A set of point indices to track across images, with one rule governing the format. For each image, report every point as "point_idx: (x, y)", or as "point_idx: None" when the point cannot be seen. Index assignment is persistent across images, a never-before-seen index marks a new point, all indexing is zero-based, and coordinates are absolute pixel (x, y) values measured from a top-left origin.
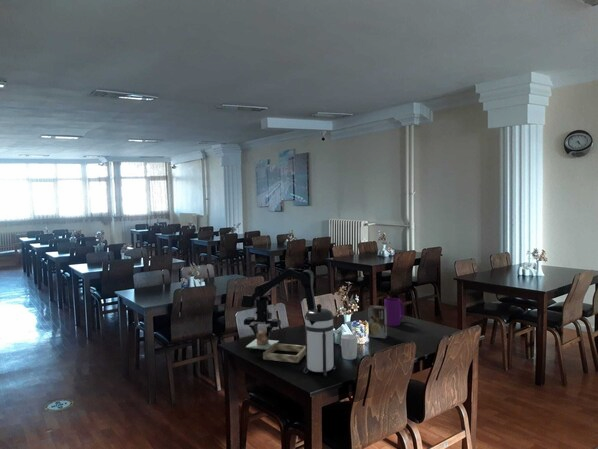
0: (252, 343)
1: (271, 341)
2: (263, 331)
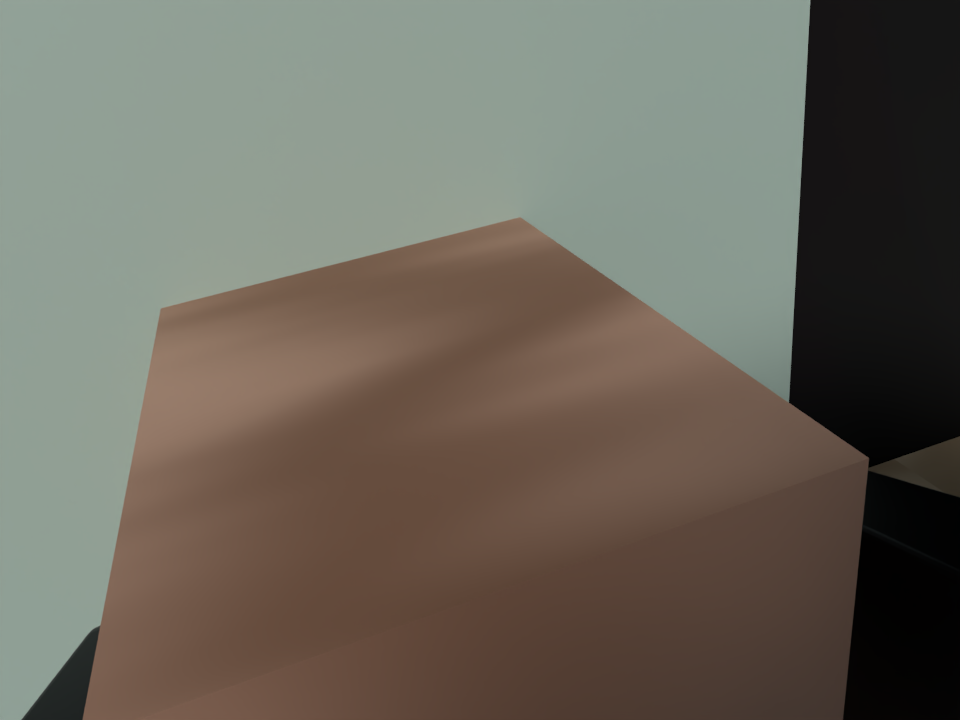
0: (23, 620)
1: (572, 42)
2: (537, 709)
